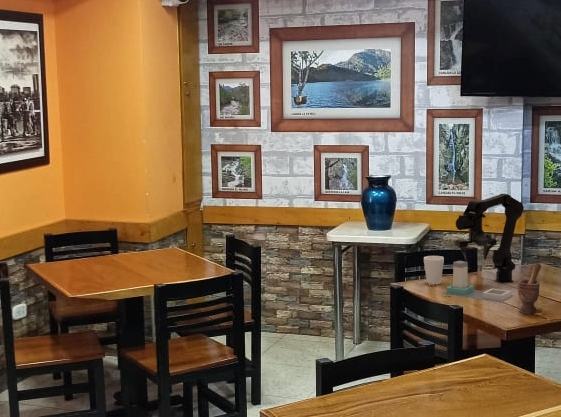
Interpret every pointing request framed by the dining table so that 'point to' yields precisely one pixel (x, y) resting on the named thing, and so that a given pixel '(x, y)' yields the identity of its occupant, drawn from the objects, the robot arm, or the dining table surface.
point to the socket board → (480, 293)
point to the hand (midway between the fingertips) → (475, 260)
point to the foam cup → (433, 268)
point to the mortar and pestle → (529, 291)
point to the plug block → (460, 274)
